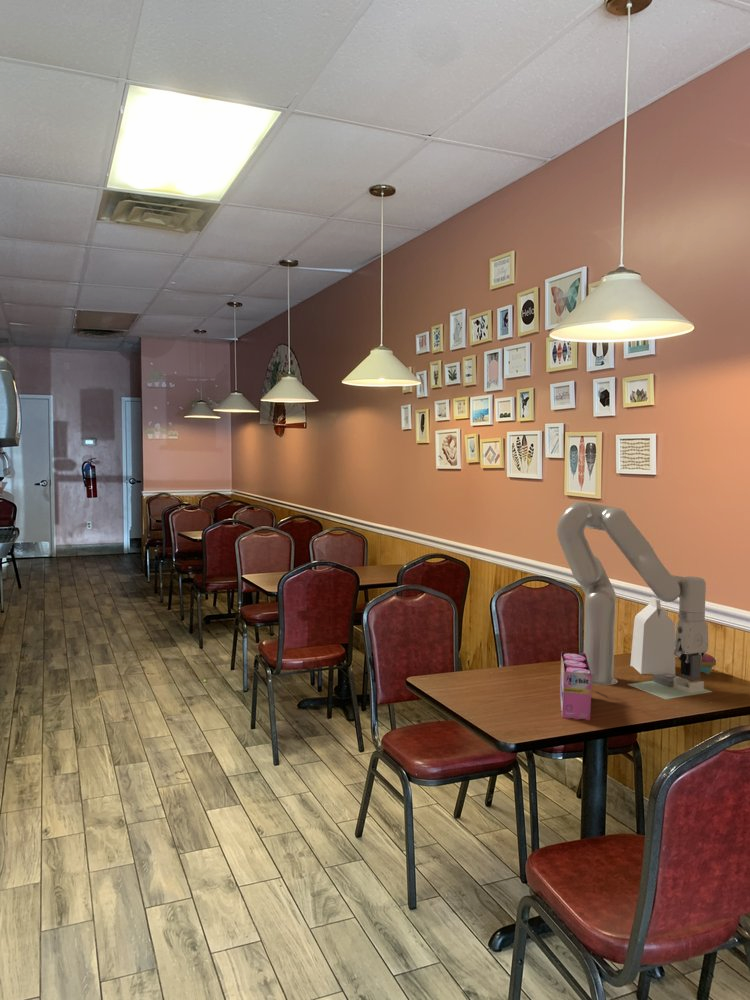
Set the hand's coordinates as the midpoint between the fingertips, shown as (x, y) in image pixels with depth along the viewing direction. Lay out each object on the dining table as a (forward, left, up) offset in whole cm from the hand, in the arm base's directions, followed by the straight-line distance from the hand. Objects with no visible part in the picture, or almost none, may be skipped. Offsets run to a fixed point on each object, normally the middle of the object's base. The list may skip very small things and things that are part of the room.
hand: (690, 673), depth 235 cm
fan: (-1, +7, -5) cm, 9 cm away
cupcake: (+22, +14, -7) cm, 27 cm away
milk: (+6, +21, -7) cm, 23 cm away
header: (0, 0, -5) cm, 5 cm away
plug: (0, 0, -2) cm, 2 cm away
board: (-5, +3, -6) cm, 9 cm away
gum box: (-43, +3, -7) cm, 44 cm away
